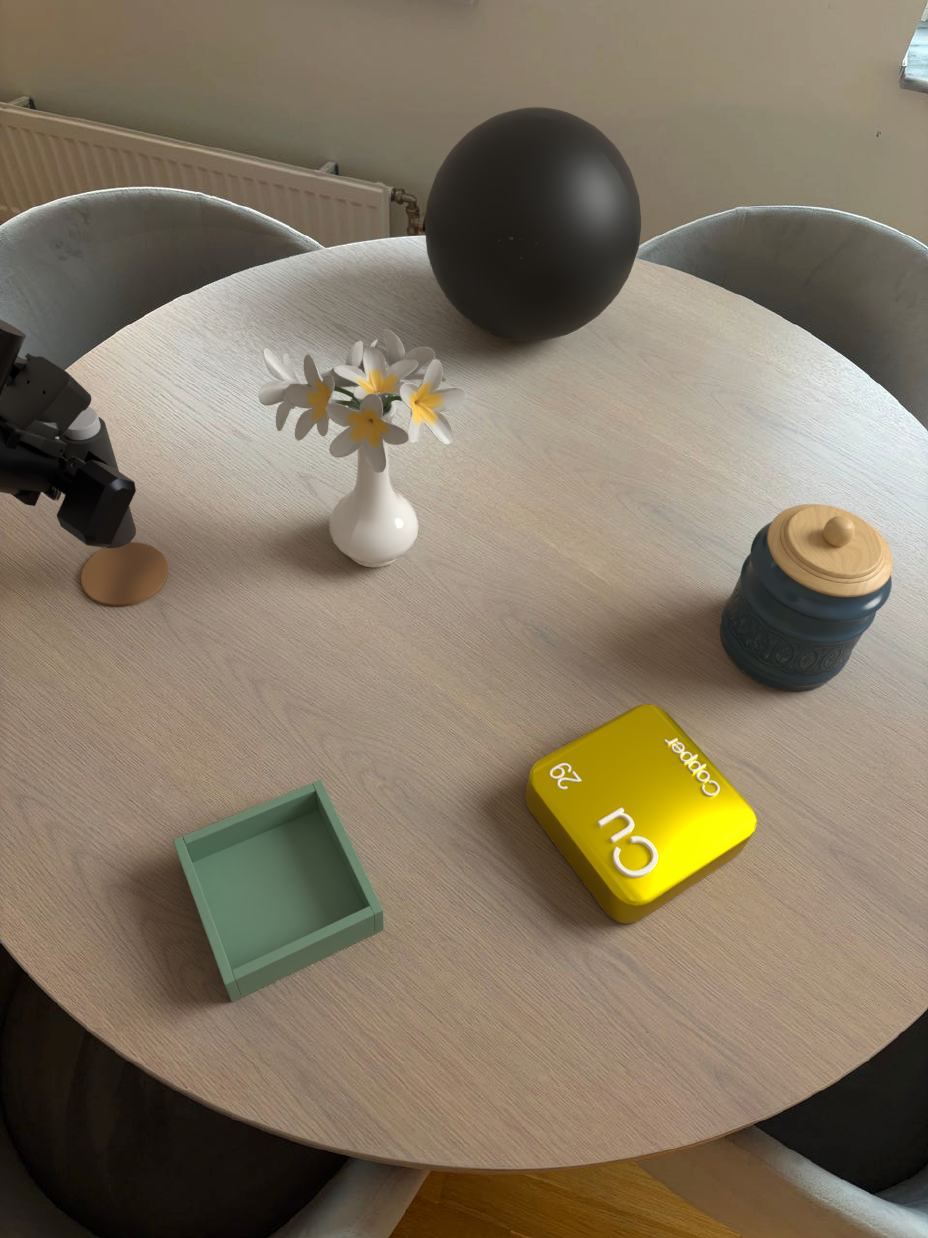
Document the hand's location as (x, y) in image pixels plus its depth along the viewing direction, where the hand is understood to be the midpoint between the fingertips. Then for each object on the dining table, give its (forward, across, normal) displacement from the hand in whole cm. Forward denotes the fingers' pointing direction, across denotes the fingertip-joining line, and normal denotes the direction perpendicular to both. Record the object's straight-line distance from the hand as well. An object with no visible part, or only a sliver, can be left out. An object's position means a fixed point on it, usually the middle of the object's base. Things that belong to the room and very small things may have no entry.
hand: (112, 480), depth 88 cm
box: (-2, -36, +20) cm, 41 cm away
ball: (+53, -4, -36) cm, 64 cm away
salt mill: (+3, 0, +5) cm, 6 cm away
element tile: (+15, -55, +3) cm, 57 cm away
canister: (+34, -56, -16) cm, 67 cm away
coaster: (+8, 0, +10) cm, 13 cm away
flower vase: (+21, -16, -4) cm, 27 cm away
